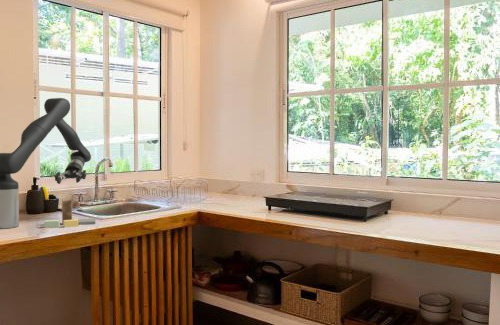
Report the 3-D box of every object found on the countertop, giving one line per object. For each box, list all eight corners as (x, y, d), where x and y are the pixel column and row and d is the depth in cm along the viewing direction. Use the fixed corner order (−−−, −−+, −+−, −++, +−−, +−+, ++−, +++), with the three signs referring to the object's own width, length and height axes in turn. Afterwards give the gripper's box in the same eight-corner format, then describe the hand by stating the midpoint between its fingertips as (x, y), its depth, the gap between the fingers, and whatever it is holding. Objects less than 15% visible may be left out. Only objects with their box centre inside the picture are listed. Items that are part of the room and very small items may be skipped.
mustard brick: (64, 227, 200) (64, 221, 200) (63, 226, 202) (63, 220, 202) (78, 226, 203) (78, 220, 203) (77, 225, 205) (77, 219, 205)
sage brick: (44, 228, 199) (44, 221, 199) (45, 226, 202) (45, 220, 201) (58, 227, 200) (58, 221, 200) (59, 226, 203) (59, 219, 203)
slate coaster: (77, 224, 206) (77, 222, 206) (77, 221, 214) (77, 219, 214) (95, 223, 209) (95, 221, 209) (95, 221, 216) (95, 218, 216)
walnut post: (62, 224, 206) (62, 201, 206) (63, 223, 210) (62, 200, 209) (71, 224, 207) (71, 200, 207) (72, 222, 211) (71, 199, 211)
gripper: (58, 162, 229) (51, 175, 214) (87, 161, 231) (81, 173, 216) (61, 176, 232) (53, 189, 217) (89, 174, 234) (84, 187, 219)
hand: (67, 181), depth 216 cm, fingers open, 8 cm apart
